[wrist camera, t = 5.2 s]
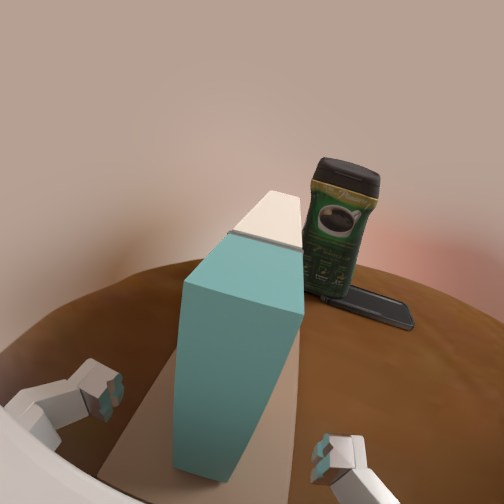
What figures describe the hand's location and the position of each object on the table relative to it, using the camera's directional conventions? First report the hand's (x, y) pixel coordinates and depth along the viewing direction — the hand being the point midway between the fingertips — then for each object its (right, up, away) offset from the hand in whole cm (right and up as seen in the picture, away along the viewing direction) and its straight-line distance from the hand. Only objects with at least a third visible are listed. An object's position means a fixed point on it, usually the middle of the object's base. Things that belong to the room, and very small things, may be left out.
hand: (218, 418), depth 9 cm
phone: (+18, -2, +29) cm, 34 cm away
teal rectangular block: (-1, -5, +4) cm, 6 cm away
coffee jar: (+11, +1, +31) cm, 33 cm away
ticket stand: (0, -4, +12) cm, 12 cm away
